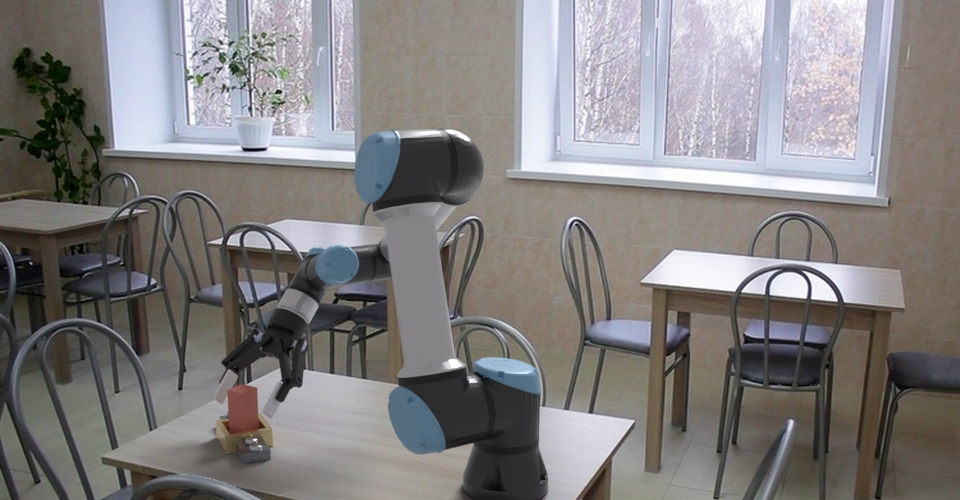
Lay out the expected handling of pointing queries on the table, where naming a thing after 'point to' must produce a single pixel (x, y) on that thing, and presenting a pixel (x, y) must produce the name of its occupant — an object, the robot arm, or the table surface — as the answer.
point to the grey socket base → (246, 440)
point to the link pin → (242, 409)
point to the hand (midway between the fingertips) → (241, 408)
